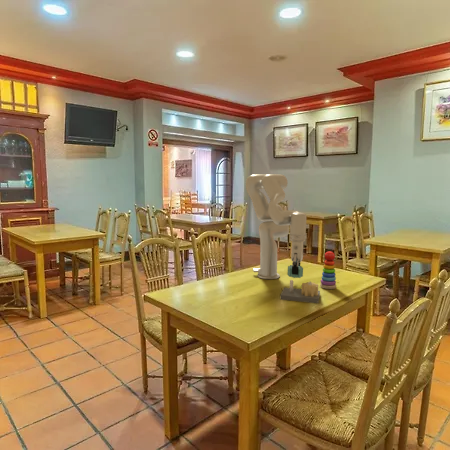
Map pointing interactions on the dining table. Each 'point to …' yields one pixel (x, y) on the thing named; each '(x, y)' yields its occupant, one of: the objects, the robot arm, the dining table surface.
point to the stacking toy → (328, 272)
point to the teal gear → (300, 274)
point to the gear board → (301, 293)
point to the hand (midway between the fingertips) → (295, 271)
